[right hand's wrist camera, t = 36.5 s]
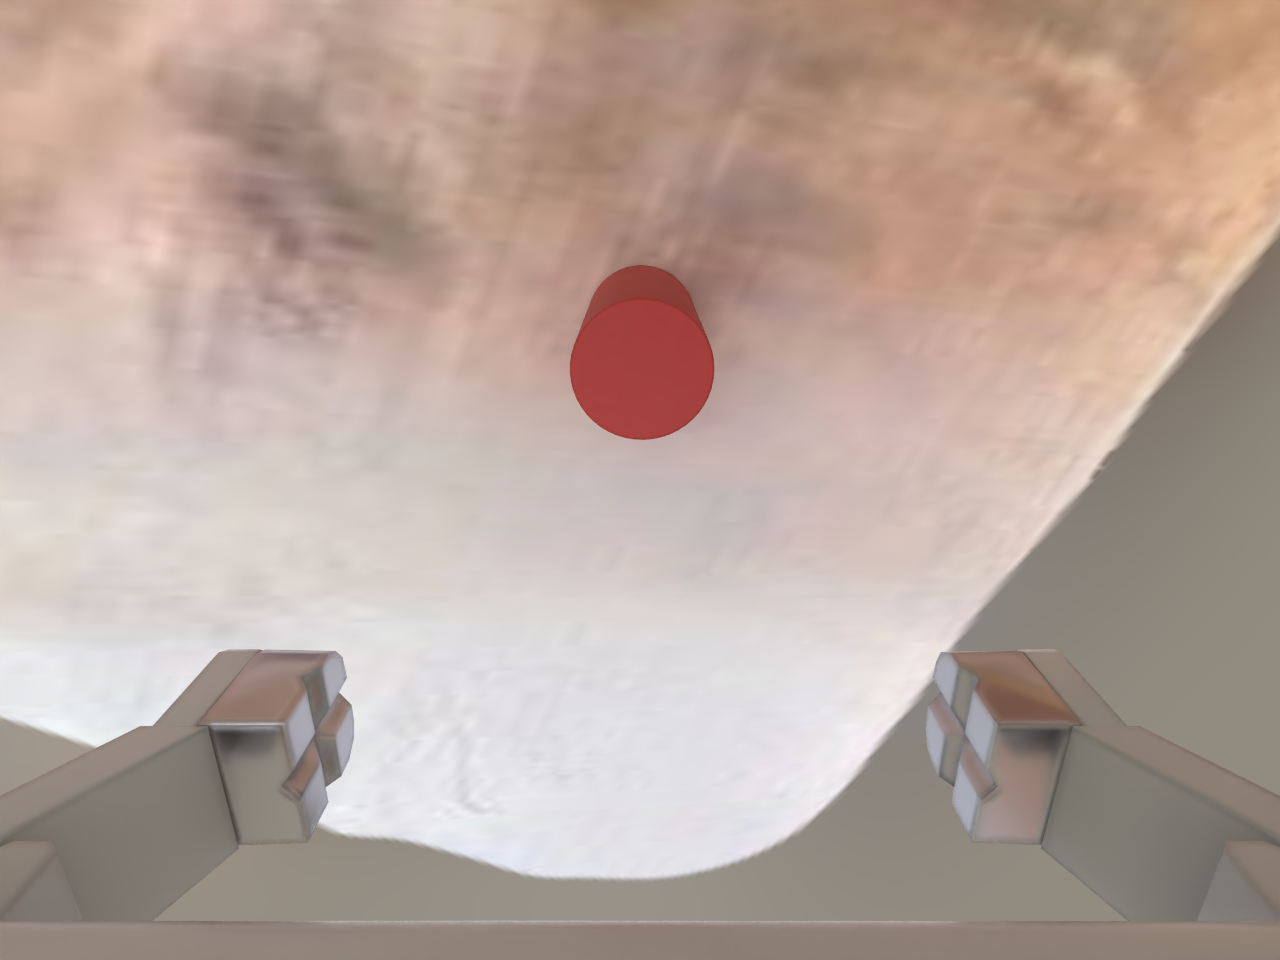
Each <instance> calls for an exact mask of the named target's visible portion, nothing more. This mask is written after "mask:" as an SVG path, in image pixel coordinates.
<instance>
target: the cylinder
mask: <svg viewBox="0 0 1280 960" xmlns="http://www.w3.org/2000/svg"><path fill="white" fill-rule="evenodd" d="M570 377H571V383H572V387H573V391H574V393H575V396H576V398H577V400H578V402H579V404H580V406H581V407H582V409H583V410H584V411H585V413H586V414H587V415H588V416H589V417H590V418H591V419H592V420H593V421H594V422H595V423H596V424H598V425H599V426H600V427H602V428H603V429H605V430H607V431H608V432H611V433H613V434H615V435H618V436H621V437H624V438H630V439H639V440H646V439H655V438H659V437H663V436H666V435H669V434H671V433H673V432H675V431H677V430H679V429H681V428H682V427H684V426H685V425H687V424H688V423H689V422H690V421H691V420H692V419H693V418H694V417H695V416H696V415H697V414H698V413H699V412H700V410H701V409H702V407H703V406H704V404H705V402H706V400H707V398H708V396H709V394H710V391H711V388H712V384H713V379H714V359H713V354H712V350H711V347H710V344H709V341H708V339H707V336H706V334H705V331H704V329H703V327H702V324H701V322H700V319H699V317H698V315H697V312H696V310H695V307H694V305H693V303H692V300H691V298H690V296H689V294H688V292H687V290H686V289H685V287H684V286H683V285H682V284H681V283H680V282H679V281H678V280H677V279H676V278H675V277H674V276H672V275H671V274H669V273H668V272H666V271H664V270H662V269H659V268H656V267H651V266H641V265H640V266H632V267H627V268H624V269H621V270H619V271H617V272H615V273H613V274H612V275H611V276H609V277H608V278H607V279H606V280H605V281H604V282H602V284H601V285H600V286H599V287H598V289H597V290H596V292H595V294H594V296H593V298H592V300H591V303H590V305H589V308H588V310H587V313H586V316H585V318H584V321H583V323H582V326H581V329H580V331H579V334H578V336H577V339H576V342H575V344H574V347H573V351H572V354H571V361H570Z"/></svg>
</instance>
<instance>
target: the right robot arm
mask: <svg viewBox="0 0 1280 960" xmlns="http://www.w3.org/2000/svg"><path fill="white" fill-rule="evenodd" d="M346 678H347V676H346V671H345V667H344V662H343V657H342V656H341V655H340V654H338V653H337V652H336V651H305V650H259V649H248V650H226V651H222V652H219V653H218V654H217V655H216V656H215V657H214V658H213V659H212V660H211V662H210V663H209V664H208V665H207V666H206V667H205V668H204V669H203V670H202V672H201V673H200V674H199V675H198V676H197V677H196V678H195V679H194V681H193V682H192V683H191V684H190V685H189V686H188V687H187V688H186V689H185V691H184V692H183V693H182V694H181V695H180V696H179V697H178V698H177V699H176V701H175V702H174V703H173V704H172V705H171V706H170V707H169V708H168V710H167V711H166V712H165V713H164V714H163V715H162V716H161V717H160V718H159V720H158V721H157V722H156V723H155V724H154V725H153V726H140V727H138V728H136V729H134V730H132V731H130V732H128V733H126V734H124V735H122V736H120V737H118V738H116V739H114V740H112V741H110V742H108V743H106V744H104V745H102V746H100V747H98V748H96V749H94V750H92V751H90V752H87V753H85V754H83V755H82V756H79V757H77V758H75V759H73V760H71V761H69V762H67V763H65V764H63V765H61V766H59V767H57V768H55V769H53V770H51V771H49V772H47V773H45V774H43V775H41V776H39V777H37V778H35V779H33V780H31V781H29V782H27V783H25V784H23V785H21V786H19V787H17V788H15V789H13V790H11V791H9V792H7V793H5V794H3V795H1V796H0V960H1280V796H1279V795H1277V794H1275V793H1273V792H1271V791H1269V790H1267V789H1265V788H1263V787H1261V786H1259V785H1257V784H1255V783H1253V782H1251V781H1249V780H1247V779H1245V778H1243V777H1241V776H1238V775H1237V774H1235V773H1233V772H1231V771H1229V770H1226V769H1224V768H1222V767H1220V766H1218V765H1216V764H1214V763H1212V762H1210V761H1208V760H1206V759H1204V758H1202V757H1200V756H1198V755H1196V754H1194V753H1192V752H1190V751H1188V750H1186V749H1184V748H1182V747H1180V746H1178V745H1176V744H1174V743H1172V742H1170V741H1168V740H1166V739H1164V738H1162V737H1160V736H1158V735H1156V734H1154V733H1152V732H1150V731H1148V730H1146V729H1144V728H1142V727H1140V726H1127V725H1126V724H1125V723H1124V722H1123V721H1122V720H1121V718H1120V717H1119V716H1118V715H1117V714H1116V713H1115V712H1114V711H1113V710H1112V708H1111V707H1110V706H1109V705H1108V704H1107V703H1106V702H1105V701H1104V700H1103V698H1102V697H1101V696H1100V695H1099V694H1098V693H1097V692H1096V691H1095V689H1094V688H1093V687H1092V686H1091V685H1090V684H1089V683H1088V682H1087V681H1086V679H1085V678H1084V677H1083V676H1082V675H1081V674H1080V673H1079V672H1078V670H1077V669H1076V668H1075V667H1074V666H1073V665H1072V664H1071V663H1070V662H1069V660H1068V659H1067V658H1066V657H1065V656H1064V655H1063V654H1062V653H1060V652H1058V651H1056V650H1054V649H1037V650H1016V651H982V652H941V653H940V655H939V657H938V659H937V661H936V665H935V670H934V676H933V678H934V680H935V682H936V684H937V685H938V687H939V689H940V691H941V693H940V694H939V695H938V696H937V697H936V698H935V699H934V700H933V701H932V702H931V703H930V704H929V705H928V712H927V720H926V735H927V746H928V750H929V753H930V757H931V760H932V763H933V765H934V767H935V769H936V771H937V773H938V775H939V777H941V778H942V779H944V780H945V781H947V782H948V783H949V784H951V785H952V786H954V792H953V798H952V803H953V806H954V808H955V809H956V811H957V813H958V815H959V817H960V819H961V821H962V823H963V825H964V827H965V829H966V831H967V833H968V835H969V837H970V839H971V841H972V843H989V844H1025V845H1042V846H1041V849H1043V850H1044V851H1045V852H1046V853H1047V854H1049V855H1050V856H1051V857H1052V858H1053V859H1055V860H1056V861H1057V862H1058V863H1059V864H1061V865H1062V866H1063V867H1064V868H1065V869H1066V870H1068V871H1069V872H1070V873H1071V874H1072V875H1074V876H1075V877H1076V878H1077V879H1078V880H1080V881H1081V882H1082V883H1083V884H1084V885H1086V886H1087V887H1088V888H1089V889H1090V890H1092V891H1093V892H1094V893H1095V894H1096V895H1098V896H1099V897H1100V898H1101V899H1102V900H1103V901H1105V902H1106V903H1107V904H1108V905H1109V906H1111V907H1112V908H1113V909H1114V910H1116V911H1117V912H1118V913H1119V914H1120V915H1121V916H1123V917H1124V918H1125V919H1126V920H1127V921H153V920H154V919H155V918H156V917H158V916H159V915H160V914H161V913H162V912H164V911H165V910H166V909H167V908H168V907H170V906H171V905H172V904H173V903H174V902H176V901H177V900H178V899H179V898H180V897H182V896H183V895H184V894H185V893H186V892H188V891H189V890H190V889H191V888H192V887H194V886H195V885H196V884H197V883H198V882H199V881H201V880H202V879H203V878H204V877H205V876H207V875H208V874H209V873H210V872H211V871H213V870H214V869H215V868H216V867H217V866H219V865H220V864H221V863H222V862H223V861H225V860H226V859H227V858H228V857H229V856H231V855H232V854H233V853H234V852H235V851H237V850H238V849H239V846H238V845H254V844H289V843H308V841H309V839H310V837H311V835H312V833H313V831H314V829H315V827H316V825H317V823H318V821H319V819H320V817H321V815H322V813H323V811H324V809H325V808H326V806H327V804H328V798H327V792H326V786H328V785H329V784H331V783H332V782H333V781H335V780H336V779H338V778H339V777H341V775H342V773H343V771H344V769H345V767H346V765H347V763H348V761H349V757H350V753H351V748H352V744H353V739H354V718H353V711H352V705H351V704H350V703H349V702H348V701H347V700H346V699H345V698H344V697H343V696H342V695H341V694H340V693H339V691H340V689H341V687H342V685H343V684H344V682H345V680H346Z"/></svg>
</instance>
